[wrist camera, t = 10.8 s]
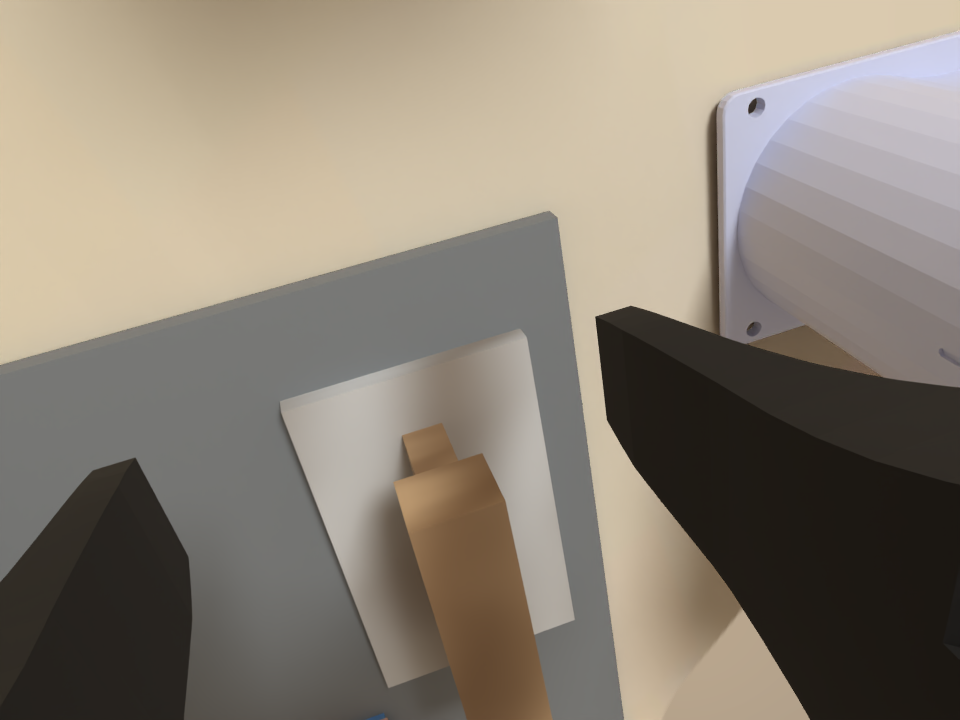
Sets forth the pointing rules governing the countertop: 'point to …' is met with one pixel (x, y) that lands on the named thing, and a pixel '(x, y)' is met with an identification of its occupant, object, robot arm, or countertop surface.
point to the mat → (281, 479)
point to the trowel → (444, 518)
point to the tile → (378, 717)
